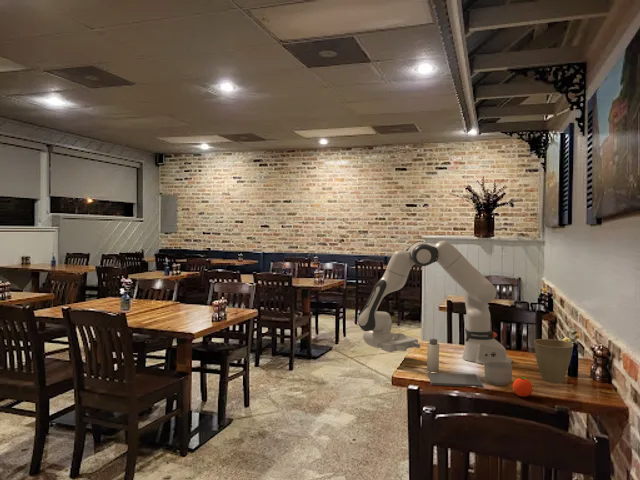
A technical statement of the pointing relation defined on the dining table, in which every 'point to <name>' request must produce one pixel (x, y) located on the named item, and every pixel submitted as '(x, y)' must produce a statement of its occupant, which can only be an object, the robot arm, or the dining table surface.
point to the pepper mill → (433, 356)
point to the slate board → (454, 379)
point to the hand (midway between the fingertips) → (412, 347)
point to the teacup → (498, 372)
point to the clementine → (522, 387)
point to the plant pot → (553, 358)
